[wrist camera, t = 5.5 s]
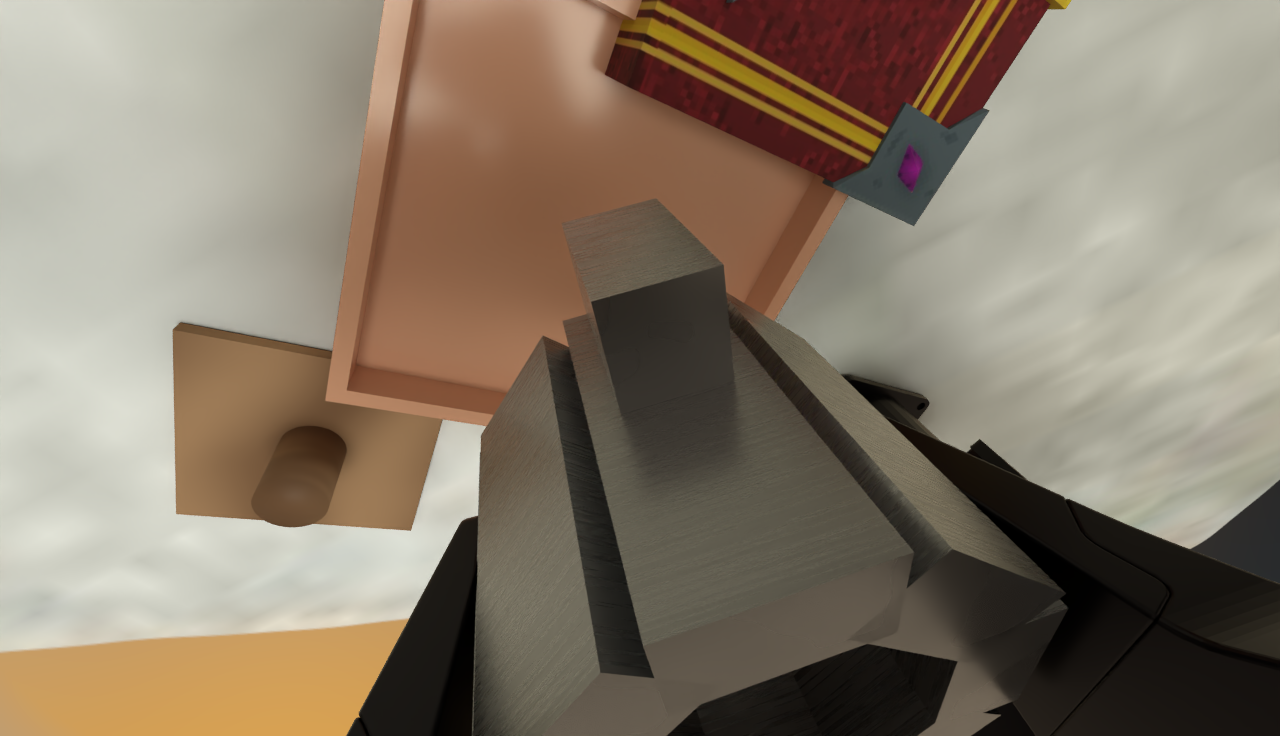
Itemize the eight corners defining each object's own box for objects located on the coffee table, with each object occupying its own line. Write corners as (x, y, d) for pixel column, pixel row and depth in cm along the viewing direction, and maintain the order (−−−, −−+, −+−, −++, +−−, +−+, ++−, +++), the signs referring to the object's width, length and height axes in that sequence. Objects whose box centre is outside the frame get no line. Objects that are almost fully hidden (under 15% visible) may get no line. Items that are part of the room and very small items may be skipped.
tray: (849, 120, 19) (886, 131, 17) (678, 428, 26) (692, 458, 24) (416, -119, 13) (404, -140, 11) (339, 366, 20) (325, 400, 18)
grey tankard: (809, 500, 14) (984, 758, 9) (548, 587, 13) (582, 917, 8) (814, 156, 9) (1234, 313, 4) (387, 269, 8) (221, 636, 3)
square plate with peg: (453, 375, 21) (448, 430, 18) (412, 522, 25) (402, 585, 22) (179, 322, 18) (121, 381, 15) (181, 504, 21) (136, 578, 19)
